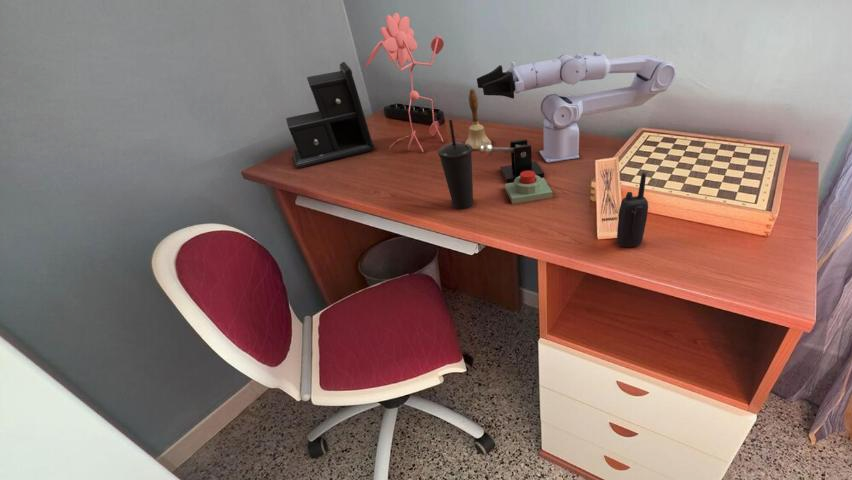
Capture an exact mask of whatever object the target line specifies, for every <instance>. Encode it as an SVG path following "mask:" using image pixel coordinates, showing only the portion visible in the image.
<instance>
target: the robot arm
mask: <svg viewBox="0 0 852 480" xmlns="http://www.w3.org/2000/svg"><path fill="white" fill-rule="evenodd" d="M657 57H658V56H656V57H650V56H649V55H647V54H639V55H631V56H623V57H622V56H621V57H614V58H607V56H606V55H605V54H603V53H601V52H600V51H593V54H583V55H582V53H576V54H575V56H574V57H573V56H571V55H569V54H564V53H561V54H560V55H558V56H557V57H556V58H555V59H547V60H541V61H538V62H537V61H536V62H533V63H526V64H522V65H517V64H516V62H515V61H511V62H510V67H509V68H508V69H505V70H504V69H503V66H502V65H501V64H500V65H498V66H497V67H496V68H494V69H493V70H492V71H490V72H488V73H486V74H483V75H481V76H479V77H476V85H477V88H478V89H482V93H483V96H498V97H506V98H509V99H513V100H514V99H515V94H519V93H520V92H526V91H531V90H536V89H540V88H545V87H551V86H553V85H558V84H562V83H565V84H567V85H572V86H574V85H577V84H578V83H579V82H582V81H583V82H584V81H595V80H596V81H597V80H603V79H605V78H606V77H607V75H608V74H632V73H633V74H635V75H634V76H633V80H632V82H631V84H630V86H624V87H619V88H614V89H608V90H603V91H596V92H591V93H587V94H580V95H568V94H563V95H559V94H557V93H548V94H546V95H545V96H544V97H543V99H542V100H541V102H540V111H541V114H542V115H543V116H544V119H543V122H542V125H543V128H542V129H543V131H542V132H543V133H542V134H543V135H542V136H543V149H541V150H539V154H540V156H541V157H542V158H543V160H544V161H545V162H546V163H547V164H550V163H556V162H562V161H569V160H576V159H579V158H580V154H579V151H580V149H579V148H580V129H579V125H578V123H577V122H578V121H579V120H580V118H581V117H585V116H591V115H596V114H601V113H606V112H612V111H616V110H617V111H618V110H623V109H629V108H634V107H639V106H642V105H644V104H646V102H648V101H649V100H651V99H652V98H654V97H655V96H657V95H658V94H659V93H663V92H666V91H668V89H669V88H670V87H671V85H672V83H673V82H674V81H675V78H676V75H677V68H676V65H675V64H674V63H673V62H671V61H667V60H664V59H662V58H659V57H658V58H657Z"/></svg>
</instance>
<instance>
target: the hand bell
mask: <svg viewBox="0 0 852 480" xmlns="http://www.w3.org/2000/svg"><path fill="white" fill-rule="evenodd" d="M478 99H479V98H478V95H477V93H476V89H475V88H471V89H469V95H468V105H469V108H470V111H471V115H472V124H471V125H469V127H468V137H467V139H466V140H465V142H464V143H465V144H469V145H471V146H472V150H479V147H480V145H481V144H482V143H483V142H489V143H490V144H492V141H491V140H490V139H489V138H488V136H487V133H486V131H485V127H484V125H482V124H480V122H479V115H478V108H479V100H478Z"/></svg>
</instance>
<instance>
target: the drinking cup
mask: <svg viewBox="0 0 852 480" xmlns="http://www.w3.org/2000/svg"><path fill="white" fill-rule="evenodd" d="M448 123H449V131H450V137H451V142H450V143H446V144H445V145H442V146H441V147H439V148H438V150H437V155H438V156H439V158H440V161H441V165H442V170H443V173H444V176H445V180H446V183H447V189H448V191H449V195H450V199H451V203H452V206H453V208H454V209H456V210H461V211H462V210H467V209H470V208H471V207H473V205H474V189H473V187H474V186H473V185H474V184H473V160H472V159H473V158H472V157H473V156H472V153H473V149H472V146H471V145H469V144H465V142H460V141H456V135H455V130H454V125H453V123H454V122H453V120H452V119H449V120H448Z"/></svg>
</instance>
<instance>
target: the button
mask: <svg viewBox="0 0 852 480" xmlns="http://www.w3.org/2000/svg"><path fill="white" fill-rule="evenodd" d="M520 182H521V183H522V184H533V183H535V172H533V171H523V172H521V173H520Z"/></svg>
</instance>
